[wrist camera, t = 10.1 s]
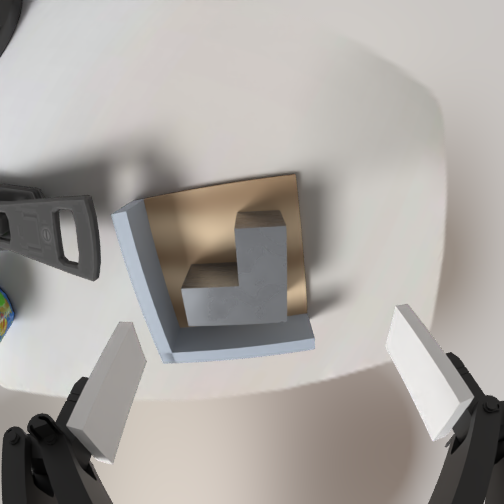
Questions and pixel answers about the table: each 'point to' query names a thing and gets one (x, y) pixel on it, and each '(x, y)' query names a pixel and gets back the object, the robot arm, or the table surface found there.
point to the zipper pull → (49, 229)
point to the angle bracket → (243, 277)
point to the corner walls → (200, 337)
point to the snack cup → (5, 314)
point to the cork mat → (222, 231)
